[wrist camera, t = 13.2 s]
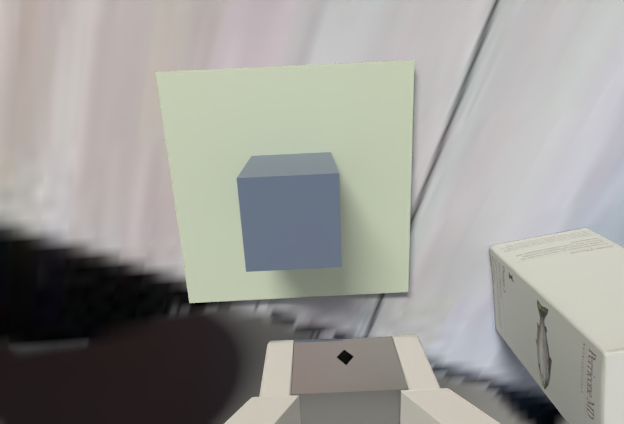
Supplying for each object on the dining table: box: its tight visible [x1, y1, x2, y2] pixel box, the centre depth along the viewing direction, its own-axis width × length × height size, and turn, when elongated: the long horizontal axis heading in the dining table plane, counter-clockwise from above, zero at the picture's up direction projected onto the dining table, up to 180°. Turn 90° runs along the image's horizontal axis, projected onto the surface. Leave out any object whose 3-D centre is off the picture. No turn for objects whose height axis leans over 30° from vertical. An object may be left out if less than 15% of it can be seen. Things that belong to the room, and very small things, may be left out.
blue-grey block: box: [237, 152, 342, 272], centre depth 25 cm, size 5×5×7 cm
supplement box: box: [490, 228, 624, 424], centre depth 26 cm, size 7×7×13 cm
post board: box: [155, 60, 414, 303], centre depth 26 cm, size 16×16×6 cm
